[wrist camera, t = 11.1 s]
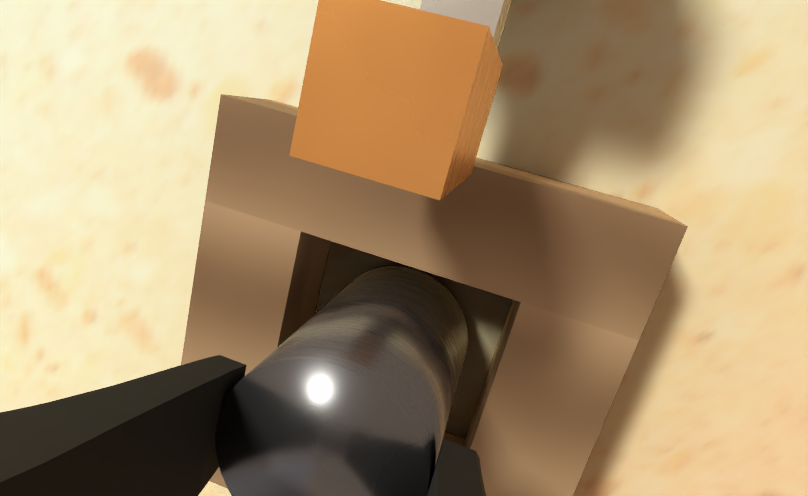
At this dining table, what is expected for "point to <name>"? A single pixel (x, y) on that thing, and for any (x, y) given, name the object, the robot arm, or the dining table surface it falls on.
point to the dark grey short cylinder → (350, 395)
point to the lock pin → (400, 90)
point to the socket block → (447, 257)
